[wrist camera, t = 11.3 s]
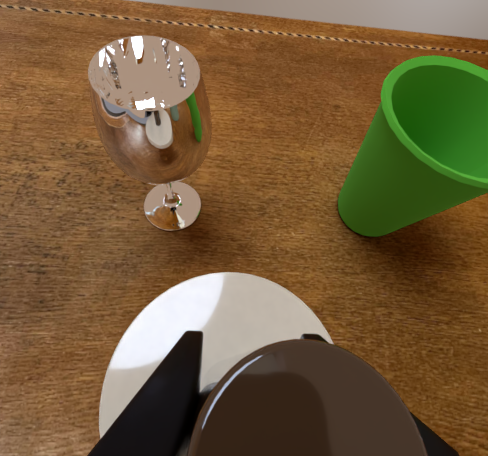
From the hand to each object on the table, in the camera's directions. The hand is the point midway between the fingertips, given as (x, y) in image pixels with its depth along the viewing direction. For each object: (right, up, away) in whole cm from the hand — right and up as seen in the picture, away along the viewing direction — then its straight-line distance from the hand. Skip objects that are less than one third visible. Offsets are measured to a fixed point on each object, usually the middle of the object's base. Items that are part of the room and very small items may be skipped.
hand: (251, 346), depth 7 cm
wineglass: (-6, +5, +17) cm, 18 cm away
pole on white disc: (-1, -4, +5) cm, 7 cm away
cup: (+10, +4, +19) cm, 22 cm away
